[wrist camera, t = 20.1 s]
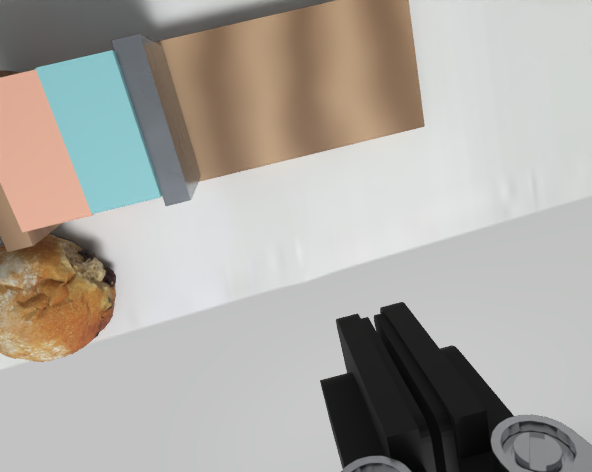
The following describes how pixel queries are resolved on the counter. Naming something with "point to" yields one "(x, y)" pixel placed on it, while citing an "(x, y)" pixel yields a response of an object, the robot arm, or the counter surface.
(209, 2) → the counter surface
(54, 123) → the salmon pink block
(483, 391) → the robot arm
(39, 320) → the bread roll
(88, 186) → the teal rectangular block
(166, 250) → the counter surface
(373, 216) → the counter surface
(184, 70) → the wooden book rack
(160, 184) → the bookend
